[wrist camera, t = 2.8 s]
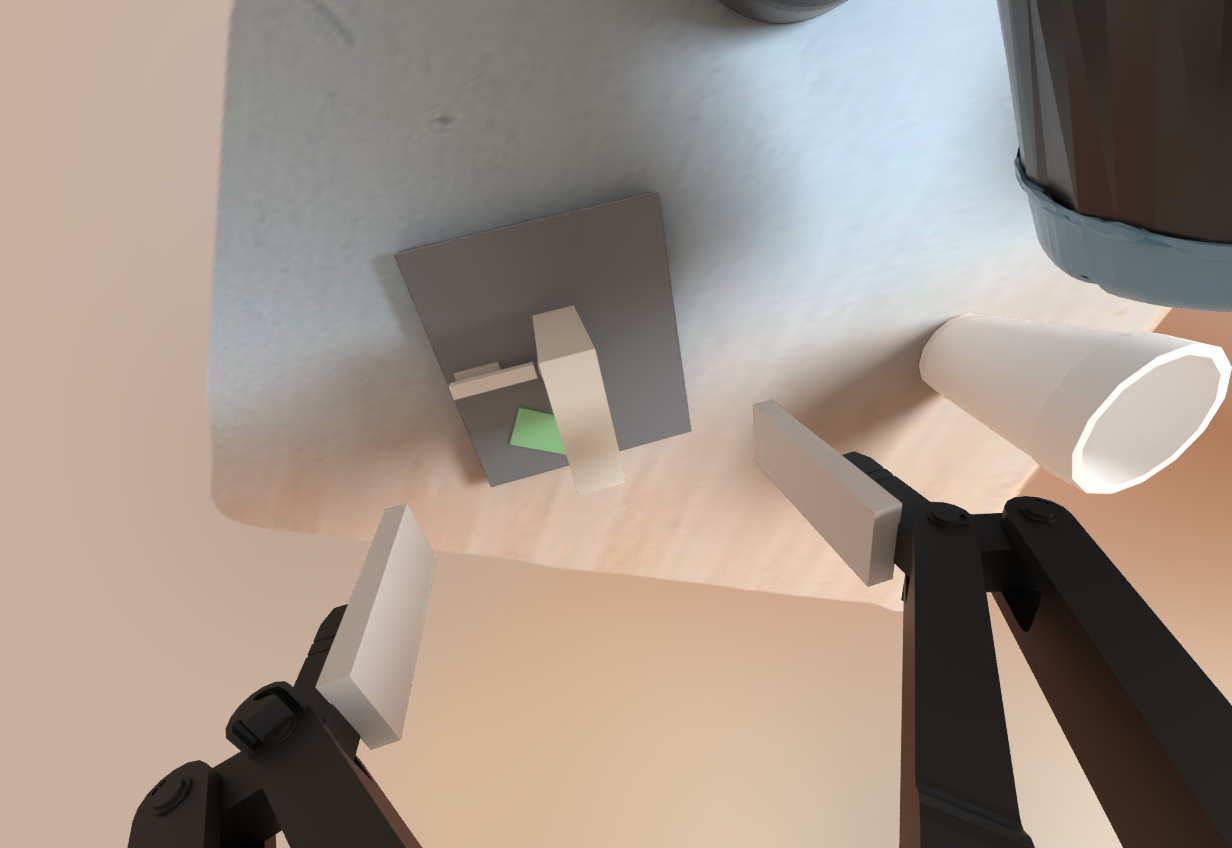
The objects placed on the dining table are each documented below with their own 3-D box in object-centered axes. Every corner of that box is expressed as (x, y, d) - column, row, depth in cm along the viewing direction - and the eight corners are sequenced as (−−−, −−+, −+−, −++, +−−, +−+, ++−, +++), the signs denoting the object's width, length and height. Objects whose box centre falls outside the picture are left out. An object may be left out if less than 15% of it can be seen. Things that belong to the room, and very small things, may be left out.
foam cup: (879, 369, 36) (1045, 452, 25) (970, 268, 34) (1201, 309, 22) (941, 422, 40) (1108, 515, 29) (1027, 335, 38) (1248, 399, 26)
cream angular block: (431, 332, 27) (391, 401, 18) (579, 295, 28) (608, 344, 19) (473, 432, 30) (456, 531, 22) (603, 397, 31) (638, 479, 22)
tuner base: (399, 251, 26) (392, 255, 25) (651, 192, 27) (659, 192, 26) (491, 475, 34) (490, 488, 32) (684, 422, 35) (692, 432, 34)
